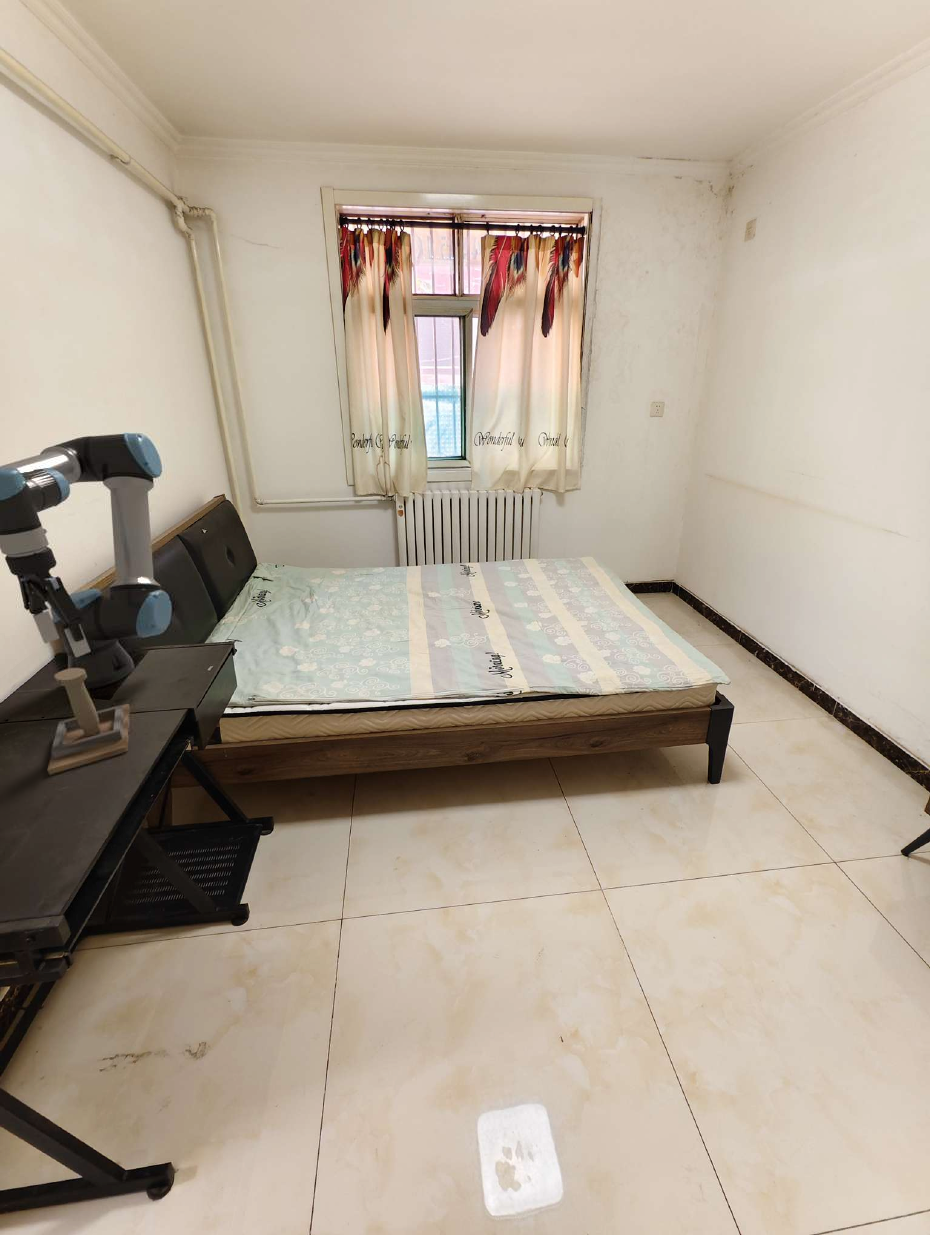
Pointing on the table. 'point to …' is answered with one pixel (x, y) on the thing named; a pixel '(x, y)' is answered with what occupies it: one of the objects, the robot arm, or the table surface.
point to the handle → (80, 699)
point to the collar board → (90, 740)
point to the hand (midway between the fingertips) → (67, 647)
